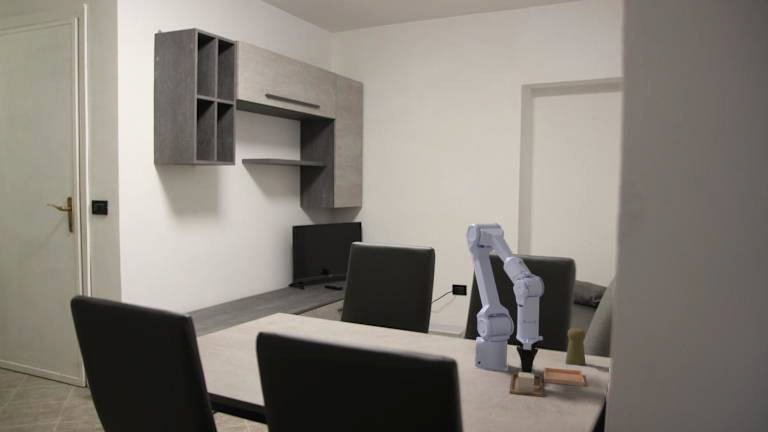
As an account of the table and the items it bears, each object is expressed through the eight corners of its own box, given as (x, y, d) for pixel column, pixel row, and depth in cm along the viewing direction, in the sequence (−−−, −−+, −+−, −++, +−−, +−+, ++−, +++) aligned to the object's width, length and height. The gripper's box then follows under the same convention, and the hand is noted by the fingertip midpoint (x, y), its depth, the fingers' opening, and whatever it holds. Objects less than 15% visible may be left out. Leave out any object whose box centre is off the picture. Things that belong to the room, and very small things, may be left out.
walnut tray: (509, 395, 144) (509, 390, 144) (511, 377, 159) (511, 373, 159) (542, 398, 142) (542, 394, 142) (541, 380, 157) (541, 375, 157)
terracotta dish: (543, 383, 154) (544, 378, 154) (543, 372, 164) (543, 367, 164) (584, 387, 151) (584, 382, 151) (581, 375, 162) (581, 370, 161)
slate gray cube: (518, 382, 153) (519, 367, 153) (519, 377, 157) (519, 363, 157) (533, 383, 152) (534, 369, 152) (533, 379, 156) (534, 364, 156)
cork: (587, 367, 170) (588, 331, 169) (566, 366, 171) (567, 330, 171) (584, 361, 176) (585, 327, 175) (564, 360, 177) (565, 326, 177)
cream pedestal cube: (517, 391, 146) (518, 376, 146) (518, 386, 150) (518, 372, 150) (533, 393, 145) (534, 378, 145) (533, 388, 149) (534, 373, 148)
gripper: (543, 327, 146) (542, 378, 147) (542, 316, 160) (541, 363, 161) (515, 325, 148) (514, 375, 149) (517, 314, 162) (516, 360, 163)
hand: (526, 369), depth 155 cm, fingers open, 7 cm apart
